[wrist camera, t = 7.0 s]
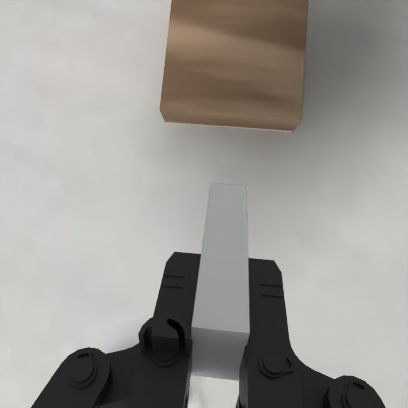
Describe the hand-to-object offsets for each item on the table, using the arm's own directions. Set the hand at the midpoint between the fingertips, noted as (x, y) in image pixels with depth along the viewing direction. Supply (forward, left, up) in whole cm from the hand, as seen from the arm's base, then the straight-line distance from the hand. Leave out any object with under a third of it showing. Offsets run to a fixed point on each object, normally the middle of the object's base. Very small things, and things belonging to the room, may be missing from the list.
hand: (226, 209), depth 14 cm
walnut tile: (-4, -7, -10) cm, 12 cm away
